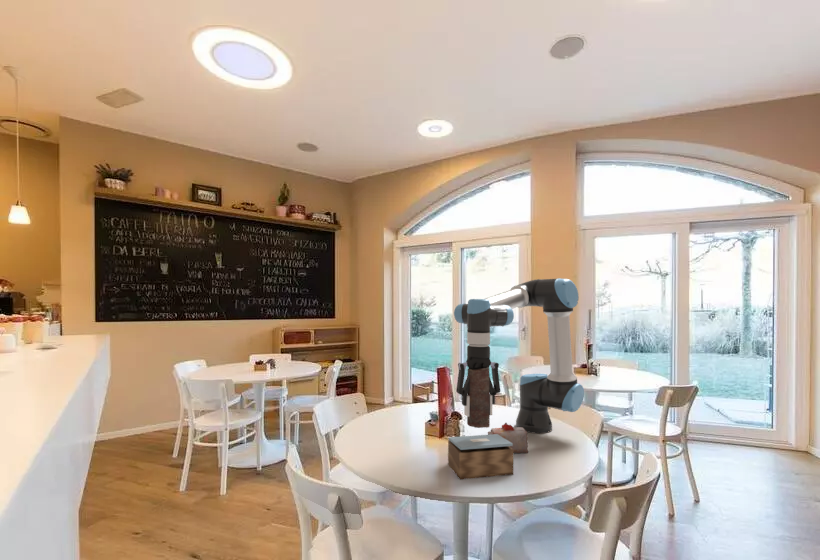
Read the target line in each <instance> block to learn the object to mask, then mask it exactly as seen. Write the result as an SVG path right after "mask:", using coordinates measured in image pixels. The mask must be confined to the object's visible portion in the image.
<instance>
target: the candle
mask: <svg viewBox="0 0 820 560" xmlns="http://www.w3.org/2000/svg"><path fill="white" fill-rule="evenodd" d="M467 376H468V378H470V389H469V392H468V394H467V395H468V396H470V408H469V417H467V416H466V422H467V423H466V424H467V425H468V426H469V427H472V428H474V429H477V428H478V429H480V428H481V429H482V428H484V429H485V428H486V429H487V428H490V425H491V423H490V420H491V419H490V416H491V415H490V409H489V406H490V405H489V394H490V393H489V377H490V366H489V367H487V368H480V369H476V370H472V369H469V368H468V367H467Z"/></svg>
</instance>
